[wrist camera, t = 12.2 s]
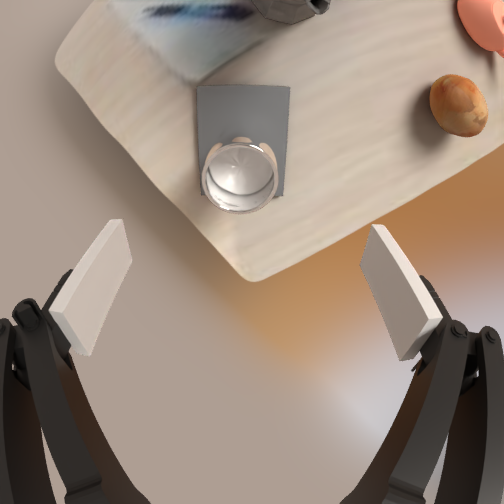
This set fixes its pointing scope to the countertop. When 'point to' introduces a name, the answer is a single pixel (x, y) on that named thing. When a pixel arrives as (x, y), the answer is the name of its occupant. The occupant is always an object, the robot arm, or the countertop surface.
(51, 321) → the robot arm
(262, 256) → the countertop surface
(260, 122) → the slate board
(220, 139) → the beer glass
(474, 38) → the teapot
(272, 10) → the coffeepot
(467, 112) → the onion
